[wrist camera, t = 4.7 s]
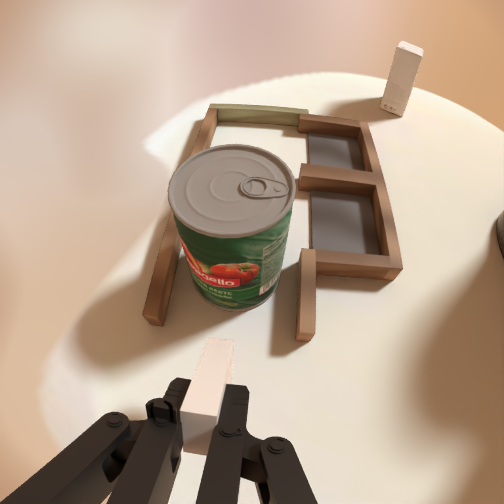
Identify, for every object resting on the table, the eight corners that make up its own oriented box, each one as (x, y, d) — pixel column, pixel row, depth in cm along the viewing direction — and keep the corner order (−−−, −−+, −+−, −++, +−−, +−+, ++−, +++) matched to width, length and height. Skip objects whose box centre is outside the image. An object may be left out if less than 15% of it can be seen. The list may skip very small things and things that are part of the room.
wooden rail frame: (400, 343, 24) (411, 335, 22) (150, 324, 25) (142, 314, 23) (362, 130, 40) (365, 118, 38) (211, 116, 41) (210, 103, 39)
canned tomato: (184, 305, 26) (150, 228, 17) (202, 231, 30) (185, 140, 21) (277, 317, 26) (293, 242, 16) (283, 239, 30) (297, 148, 21)
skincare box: (402, 118, 43) (422, 56, 33) (379, 108, 44) (395, 46, 34) (406, 105, 46) (424, 49, 36) (385, 95, 47) (400, 39, 37)
